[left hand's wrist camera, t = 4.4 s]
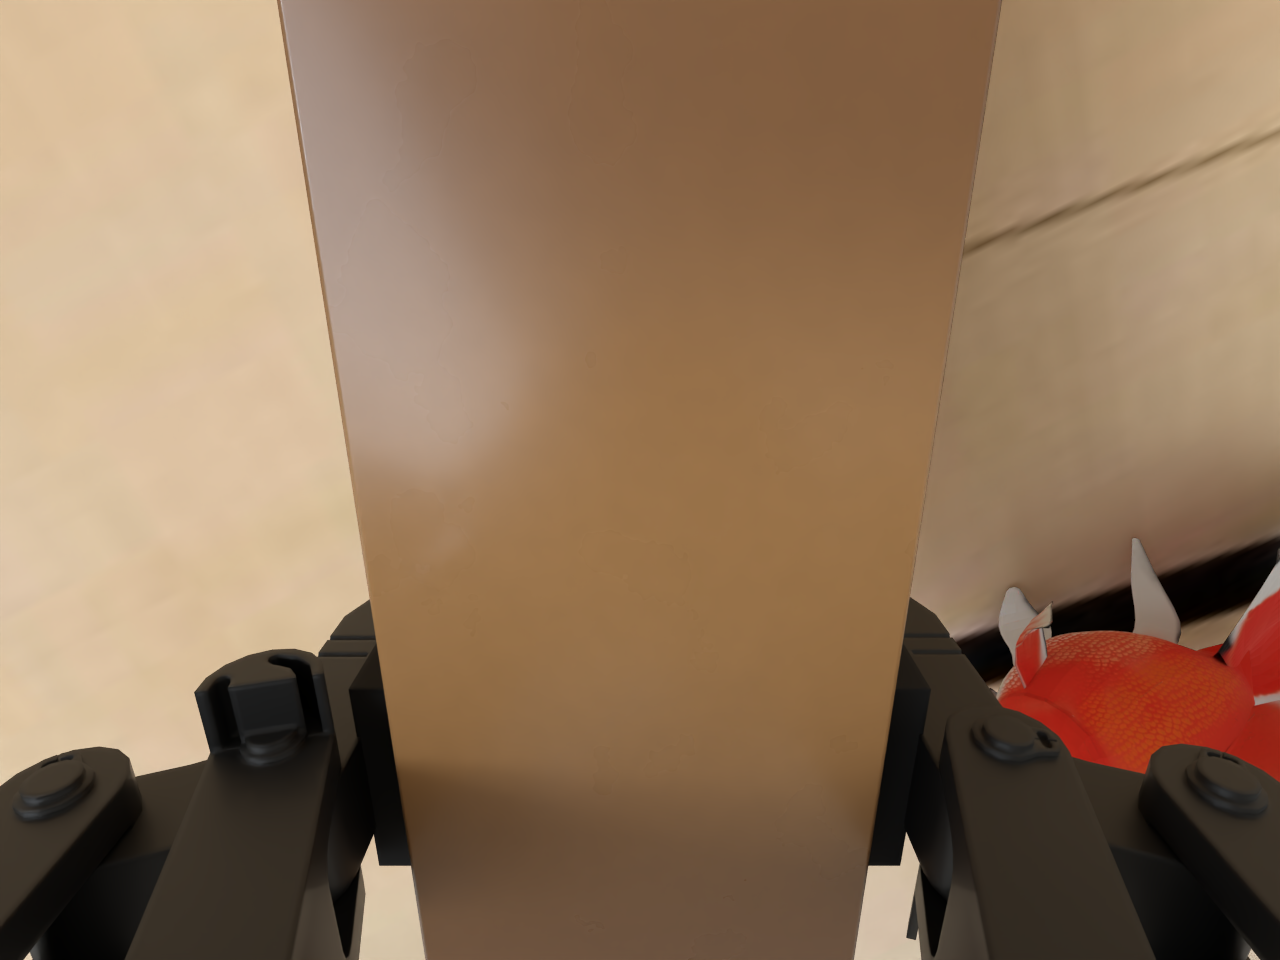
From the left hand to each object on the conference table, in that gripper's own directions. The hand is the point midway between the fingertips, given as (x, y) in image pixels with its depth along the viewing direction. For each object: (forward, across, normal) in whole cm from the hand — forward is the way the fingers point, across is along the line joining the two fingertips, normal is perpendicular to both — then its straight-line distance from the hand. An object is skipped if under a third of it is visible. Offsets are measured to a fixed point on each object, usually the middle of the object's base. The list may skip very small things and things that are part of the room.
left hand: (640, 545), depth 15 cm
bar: (+1, 0, -8) cm, 8 cm away
